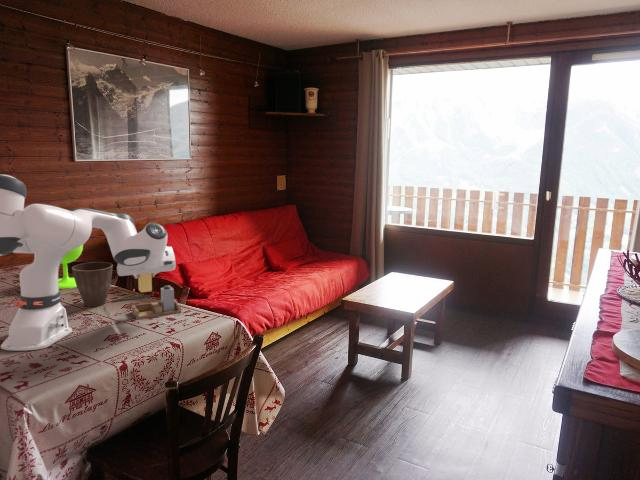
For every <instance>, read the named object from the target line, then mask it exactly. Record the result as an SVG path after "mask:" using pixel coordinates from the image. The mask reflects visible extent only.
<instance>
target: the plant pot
mask: <svg viewBox="0 0 640 480" xmlns="http://www.w3.org/2000/svg"><path fill="white" fill-rule="evenodd" d="M113 267H114V266H113V264H112V263H111V262H105V261H94V262H92V261H91V262H85V263H84V262H83V263H79V264H76V265H73V266H72V267H71V272H72V275H73V278H74V279H75V282H76V285H77V287H76V288H77V290H78V292H79V295H80V297H81V300H82V301H83V303H84V305H85V306H86V307H91V308H92V307H99V306H102V305H104V304H106V302H107V298H108V294H109V291H110V289H111V288H110V287H111V283H112V276H113Z"/></svg>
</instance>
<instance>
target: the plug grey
mask: <svg viewBox="0 0 640 480" xmlns="http://www.w3.org/2000/svg"><path fill="white" fill-rule="evenodd" d="M174 299H175V289H174V287H172V286H171V285H170V284H168V285H164V286H163V287H160V301H161V307H162V311H163V312H170V311H174Z"/></svg>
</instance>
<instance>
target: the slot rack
mask: <svg viewBox="0 0 640 480" xmlns="http://www.w3.org/2000/svg"><path fill="white" fill-rule="evenodd" d="M131 313H132V315H133V316H134V317H135V319H136V320H144V319H150V318H157V317H163V316H168V315H169V316H170V315H175V314H181V313H182V307H181V303H179V302H178V301H177V300H176V299H175V298H174V311H170V312H163V311H162V307H161V300H159V301H154V302H145V303H138V304H132V305H131Z"/></svg>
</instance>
